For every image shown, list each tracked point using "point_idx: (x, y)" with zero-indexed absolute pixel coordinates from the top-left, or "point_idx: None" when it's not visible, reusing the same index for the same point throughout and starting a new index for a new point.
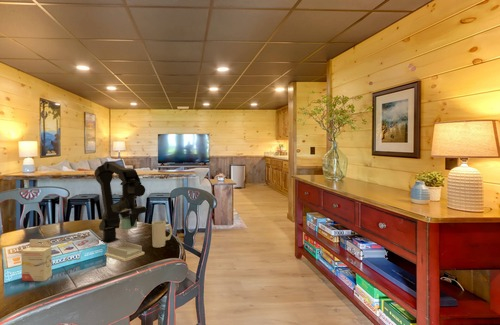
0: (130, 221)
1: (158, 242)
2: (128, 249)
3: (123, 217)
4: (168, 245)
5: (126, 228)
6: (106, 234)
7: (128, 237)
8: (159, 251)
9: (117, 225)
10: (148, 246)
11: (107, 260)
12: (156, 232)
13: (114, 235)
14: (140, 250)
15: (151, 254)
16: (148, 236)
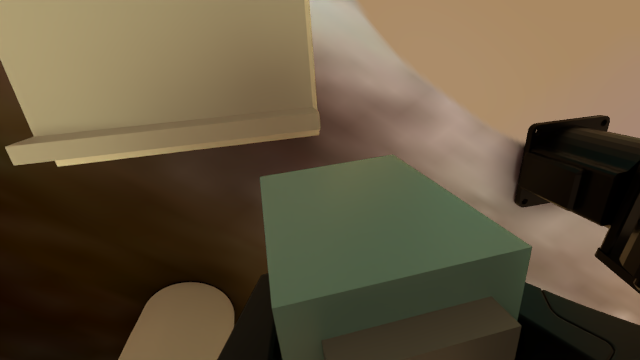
0: (267, 337)
1: (134, 328)
2: (140, 69)
3: (513, 321)
4: None
5: (273, 183)
6: (605, 143)
7: None
8: (56, 266)
9: (621, 254)
10: (230, 265)
11: None
12: None
13: (548, 187)
14: (36, 135)
15: (23, 195)
16: None
